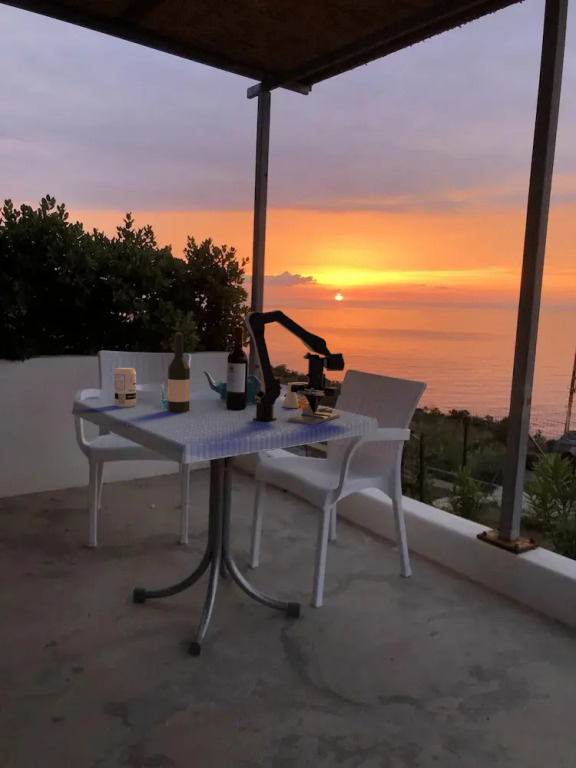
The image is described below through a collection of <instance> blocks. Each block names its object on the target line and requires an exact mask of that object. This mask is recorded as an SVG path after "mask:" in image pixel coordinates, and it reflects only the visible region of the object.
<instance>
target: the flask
mask: <svg viewBox="0 0 576 768" xmlns="http://www.w3.org/2000/svg"><path fill="white" fill-rule="evenodd" d="M292 384H297V383H296V382H288V383H287V391H286V392H287V393H286V395H285V398H284V400H283V403H282V405H281V407H283V408H287V409H297V408H300V407H299V405H300V403H299V404H298V402H299V400H298V396H297V392H290V387H291V385H292Z"/></svg>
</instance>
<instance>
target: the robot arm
mask: <svg viewBox="0 0 576 768" xmlns="http://www.w3.org/2000/svg"><path fill="white" fill-rule="evenodd" d="M244 323H245V325H246V328H247V331H248V332H249V334H250V335H251V338H252V341H253V345H254V350H255V353H256V359H257V363H258V367H259V373H260V390H259V391H257V393H256V394H255V395H254V398H255V401H256V402H257V403H256V405H255V410H256V411H255V412H256V413H255V417H253V418H252V420H255V421H261V422H271V421H274V420H277V417H275V416H274V405H275V404H276V400H277V399H278V398H279V397H280V396H281V393H282V392H281V390H282V389H283V388H282V386H281V382H280V377H277V376H275V375H274V373H273V369H272V365H271V361H270V360H271V359H270V357H269V351H268V347H267V342H266V338H265V329H266V326H265V325H267V324H272V323H277V324H278V325H280V326H281V327H283V328H284V329H285V330H287V331H288V332H290V333H291V334H292V335H293V336H295V337H296V338H297V339H298V340H299V341H300V342H302V344H303V345H304V346H305V347H306V349H308V351H307V352H306V354H305V355H303V356H302V358H303V359H305V360H308V364H307V367H308V368H307V373H306V374H305V377H307V384H306V383H301V382H300V383H299V382H297V383H296V384H292V385H291V387H290V392H296V393H298V392H299V391H301V392H304V393H303V394H302V396H305V399H306V400H307V402H309V404H310V407H311V409H312V411H313V413H316V411H317V410H318V409H319V406H320V403H321V401H322V400H323V398H324V397H331V398H332V397H338V396H341V395H342V393H341V392H342V391H341V388H340V387H336V386H331V385H332V380H330V379H328V378H326V373H324V372H325V371H324V369H325V370H326V371H327V372H343V371H344V369H345V360H344V359H345V358H344V355H343V352H334V353H331V351H330V350H329V348H328V346H327V341H326V340H325V339H324V338H322V337H321V336H319V335H316V334H314V333H312V332H310V331H308V330H306V329H305V328H304V327H302V326H301V325H300V324H298V323H297V322H296V321H294V320H293V319H292V318H290V317H289V316H287V315H286V314H285V313H284V312H283V311H282V310H279V309H278V310H277V309H274V310H272V311H266V312H258V311H250V312H248V313H246V315H245V316H244ZM309 351H310V352H309ZM311 353H314V354H311ZM320 355H321V356H320Z"/></svg>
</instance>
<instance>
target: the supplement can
mask: <svg viewBox="0 0 576 768" xmlns="http://www.w3.org/2000/svg"><path fill="white" fill-rule="evenodd" d="M113 375H114V388H113V389H114V405H115V406H116V407H117V406H118V407H117V408H132V406H133V407H135V406H136V405H137V371H136V370H135V367H123V366H122V367H116V368H115V370H114V373H113ZM134 405H135V406H134Z"/></svg>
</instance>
